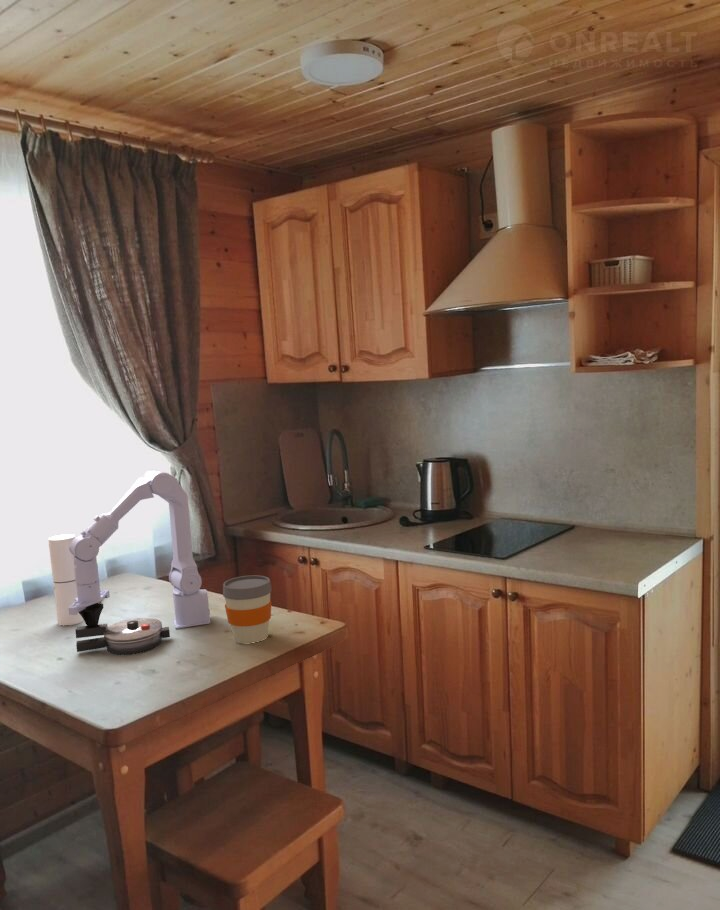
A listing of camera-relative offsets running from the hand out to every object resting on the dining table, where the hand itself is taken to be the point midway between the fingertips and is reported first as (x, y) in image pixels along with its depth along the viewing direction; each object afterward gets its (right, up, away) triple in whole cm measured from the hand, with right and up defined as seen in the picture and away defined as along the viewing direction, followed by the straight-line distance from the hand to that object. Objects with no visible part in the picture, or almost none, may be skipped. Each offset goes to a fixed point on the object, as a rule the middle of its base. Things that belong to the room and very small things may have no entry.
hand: (92, 632), depth 198 cm
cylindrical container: (-14, -2, +22) cm, 26 cm away
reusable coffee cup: (+41, -2, 0) cm, 41 cm away
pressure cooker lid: (+7, 0, -1) cm, 8 cm away
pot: (+9, -3, -1) cm, 9 cm away
